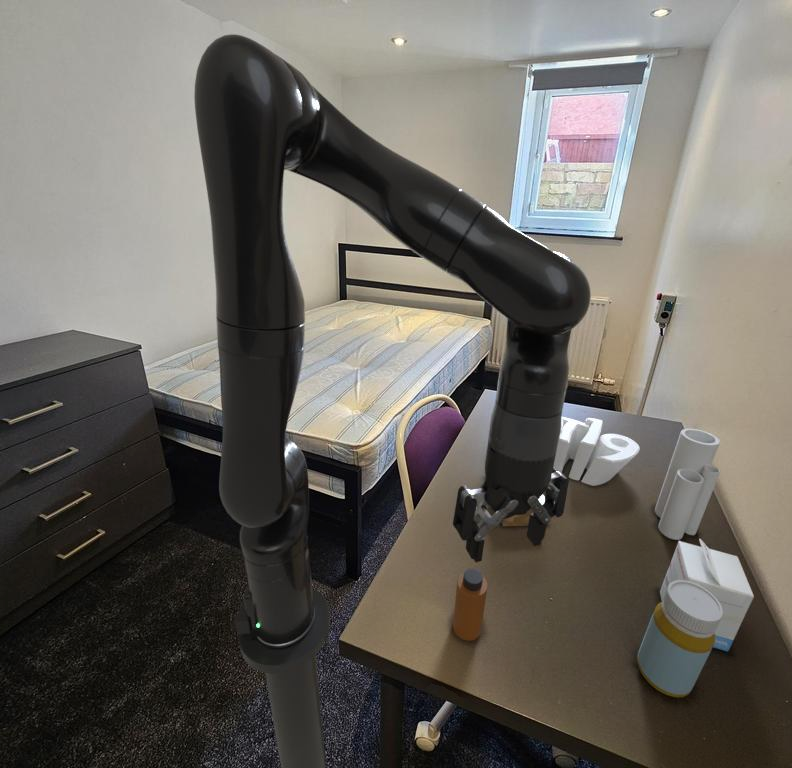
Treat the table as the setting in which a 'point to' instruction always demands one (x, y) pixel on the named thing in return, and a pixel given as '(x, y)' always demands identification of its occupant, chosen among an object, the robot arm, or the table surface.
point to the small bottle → (469, 604)
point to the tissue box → (714, 584)
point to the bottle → (679, 638)
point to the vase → (688, 484)
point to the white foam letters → (592, 451)
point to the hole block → (520, 517)
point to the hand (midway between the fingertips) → (504, 548)
